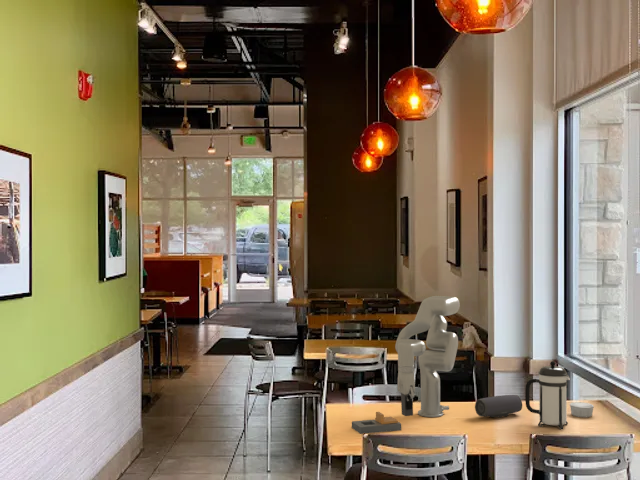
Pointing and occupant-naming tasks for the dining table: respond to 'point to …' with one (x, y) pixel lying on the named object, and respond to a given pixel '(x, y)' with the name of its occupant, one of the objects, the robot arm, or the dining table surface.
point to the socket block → (374, 426)
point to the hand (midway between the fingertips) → (407, 407)
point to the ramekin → (581, 409)
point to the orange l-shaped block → (384, 419)
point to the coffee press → (550, 395)
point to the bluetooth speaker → (498, 405)
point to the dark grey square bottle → (403, 406)
